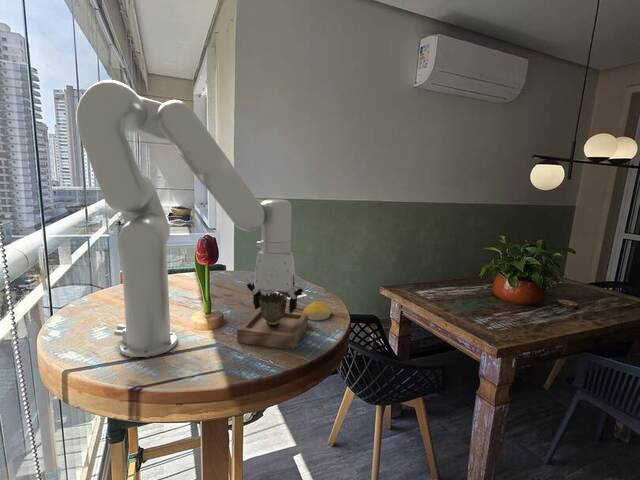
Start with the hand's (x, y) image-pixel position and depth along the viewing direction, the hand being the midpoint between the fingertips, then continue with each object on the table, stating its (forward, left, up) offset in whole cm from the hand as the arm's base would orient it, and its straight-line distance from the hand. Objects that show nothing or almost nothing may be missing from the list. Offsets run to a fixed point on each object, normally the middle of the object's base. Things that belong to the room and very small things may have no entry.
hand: (274, 309), depth 92 cm
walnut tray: (0, 0, -7) cm, 7 cm away
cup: (0, 0, -5) cm, 5 cm away
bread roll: (+9, +16, -7) cm, 19 cm away
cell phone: (-7, +34, -7) cm, 35 cm away
